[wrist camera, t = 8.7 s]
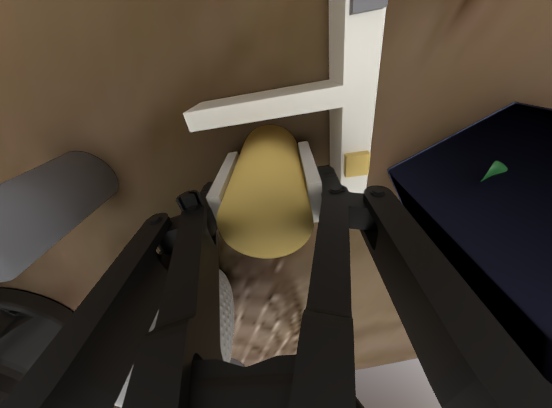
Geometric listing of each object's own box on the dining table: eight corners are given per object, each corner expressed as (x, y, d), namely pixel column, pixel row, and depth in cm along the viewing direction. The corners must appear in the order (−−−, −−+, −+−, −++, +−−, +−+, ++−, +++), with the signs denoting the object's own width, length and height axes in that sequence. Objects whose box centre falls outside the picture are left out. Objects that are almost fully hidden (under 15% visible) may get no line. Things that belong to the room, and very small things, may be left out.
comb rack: (233, 200, 22) (225, 230, 18) (147, -61, 12) (86, -117, 8) (350, 185, 21) (366, 214, 17) (367, -118, 11) (417, -213, 7)
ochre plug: (249, 180, 21) (231, 262, 12) (236, 129, 18) (202, 191, 10) (300, 173, 20) (315, 254, 12) (295, 120, 17) (311, 177, 9)
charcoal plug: (84, 200, 22) (-30, 285, 14) (47, 155, 19) (-125, 229, 11) (128, 194, 21) (38, 278, 13) (97, 147, 19) (-43, 218, 10)
